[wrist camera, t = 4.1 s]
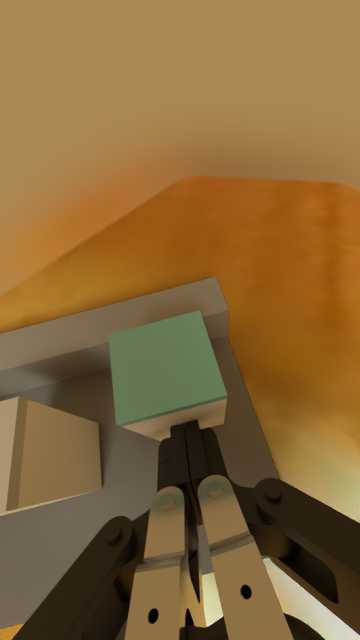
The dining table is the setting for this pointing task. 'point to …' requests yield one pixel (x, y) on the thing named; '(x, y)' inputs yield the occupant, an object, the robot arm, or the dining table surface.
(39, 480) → the beige tall block
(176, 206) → the dining table surface
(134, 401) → the beige and green block
